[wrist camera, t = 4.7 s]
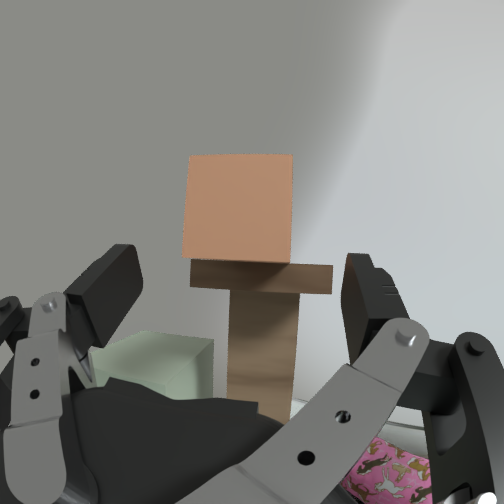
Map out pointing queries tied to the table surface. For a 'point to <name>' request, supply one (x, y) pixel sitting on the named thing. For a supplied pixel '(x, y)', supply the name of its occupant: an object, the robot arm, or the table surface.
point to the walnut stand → (262, 325)
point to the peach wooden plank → (239, 208)
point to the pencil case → (390, 476)
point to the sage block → (159, 364)
